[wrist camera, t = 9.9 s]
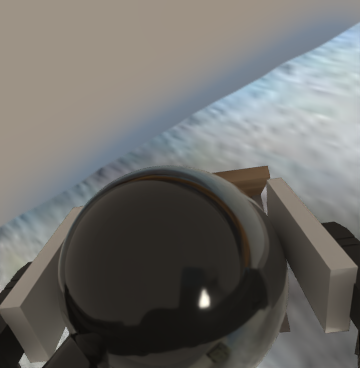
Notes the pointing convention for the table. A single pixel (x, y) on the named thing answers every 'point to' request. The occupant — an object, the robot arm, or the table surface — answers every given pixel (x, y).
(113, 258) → the pump dispenser
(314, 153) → the table surface
